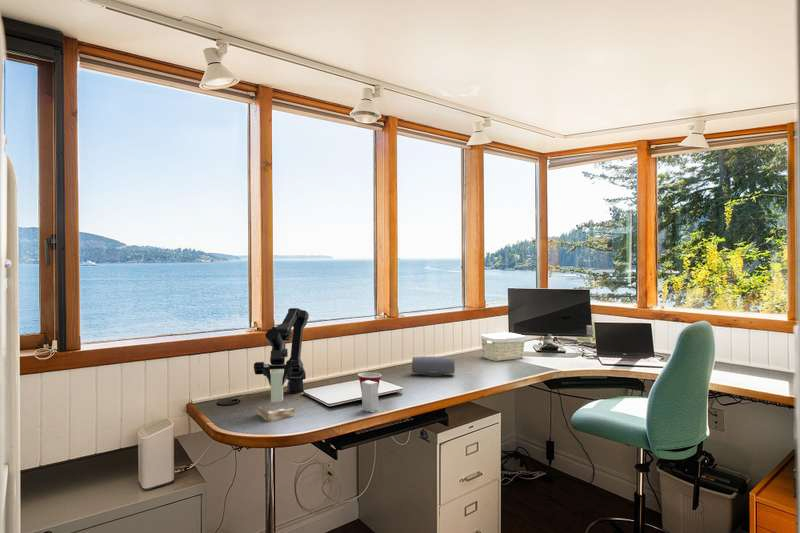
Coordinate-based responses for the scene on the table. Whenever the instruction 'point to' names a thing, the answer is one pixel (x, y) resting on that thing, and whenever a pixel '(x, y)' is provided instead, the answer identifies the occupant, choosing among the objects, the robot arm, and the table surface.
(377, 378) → the plastic cup
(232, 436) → the table surface
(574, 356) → the table surface
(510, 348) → the storage basket
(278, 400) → the sage block
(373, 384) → the skincare box
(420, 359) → the bluetooth speaker
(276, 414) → the beige flat l-shaped piece
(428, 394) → the table surface
